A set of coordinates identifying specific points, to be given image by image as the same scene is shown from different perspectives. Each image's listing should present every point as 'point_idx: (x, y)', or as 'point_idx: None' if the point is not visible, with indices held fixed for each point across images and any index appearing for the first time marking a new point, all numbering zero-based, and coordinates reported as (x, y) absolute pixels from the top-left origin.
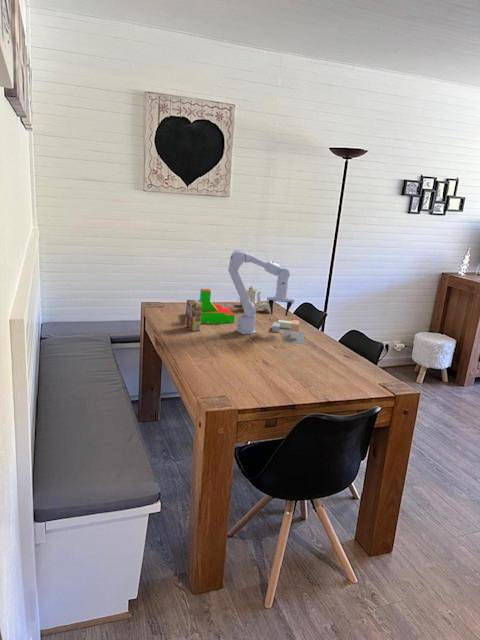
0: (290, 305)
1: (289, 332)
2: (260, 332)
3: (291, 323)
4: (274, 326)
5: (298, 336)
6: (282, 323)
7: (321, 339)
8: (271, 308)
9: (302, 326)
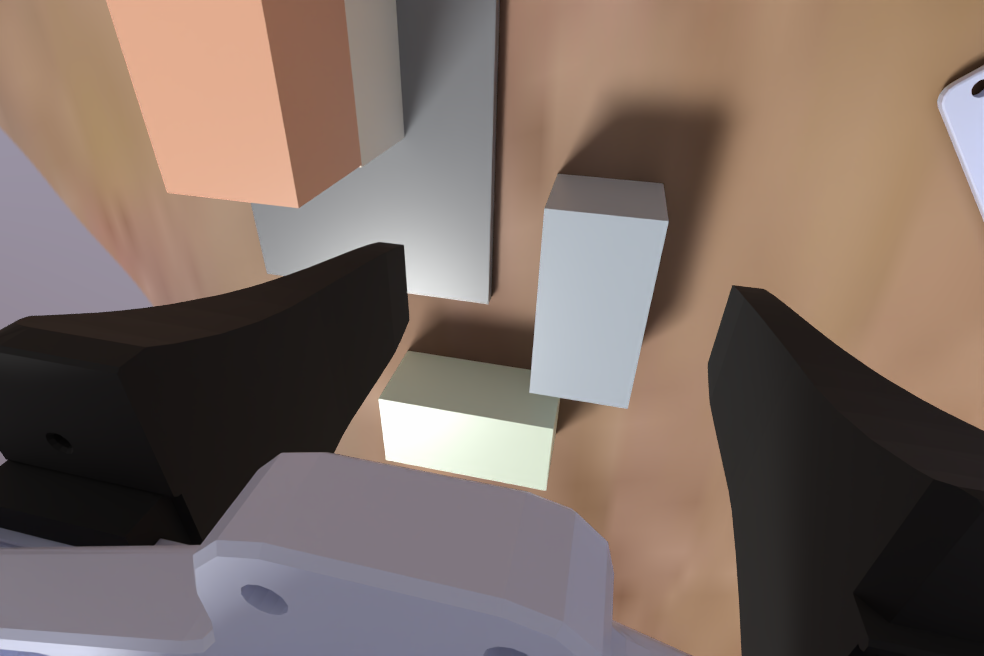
0: (30, 322)
1: (418, 211)
2: (859, 142)
3: (309, 103)
4: (632, 215)
5: None
6: (500, 408)
7: (42, 68)
8: (839, 369)
9: None
